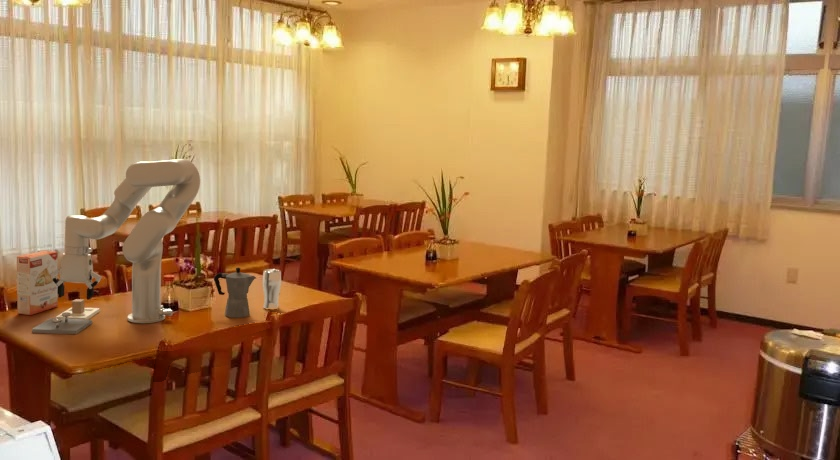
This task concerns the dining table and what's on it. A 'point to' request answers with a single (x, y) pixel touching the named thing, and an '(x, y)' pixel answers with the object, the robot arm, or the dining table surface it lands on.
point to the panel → (81, 316)
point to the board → (62, 326)
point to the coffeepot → (236, 292)
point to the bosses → (61, 319)
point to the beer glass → (271, 287)
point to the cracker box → (36, 282)
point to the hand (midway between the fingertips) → (75, 297)
